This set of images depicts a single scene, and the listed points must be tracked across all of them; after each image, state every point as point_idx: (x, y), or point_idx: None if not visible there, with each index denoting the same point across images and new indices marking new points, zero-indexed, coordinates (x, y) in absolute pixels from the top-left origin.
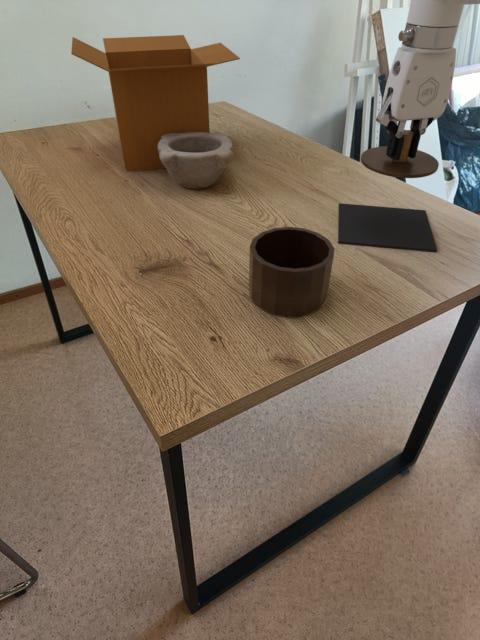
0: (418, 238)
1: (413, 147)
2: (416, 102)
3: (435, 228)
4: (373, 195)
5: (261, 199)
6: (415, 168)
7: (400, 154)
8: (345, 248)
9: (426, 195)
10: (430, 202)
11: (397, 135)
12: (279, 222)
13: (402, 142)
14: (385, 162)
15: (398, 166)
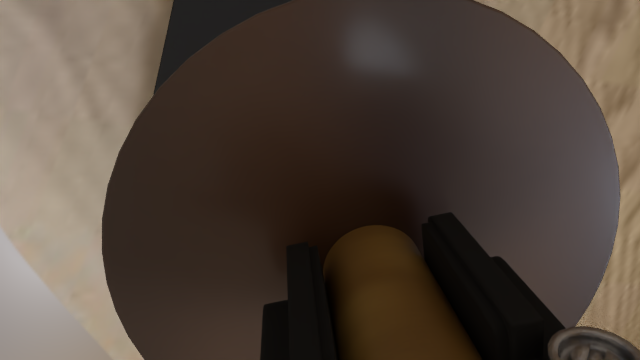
0: (236, 11)
1: (324, 295)
2: None
3: (132, 92)
4: None
5: (608, 329)
6: (335, 109)
7: (438, 238)
8: (517, 5)
9: (82, 316)
10: (84, 271)
11: (601, 355)
12: (629, 200)
13: (496, 295)
14: (486, 233)
15: (440, 159)
